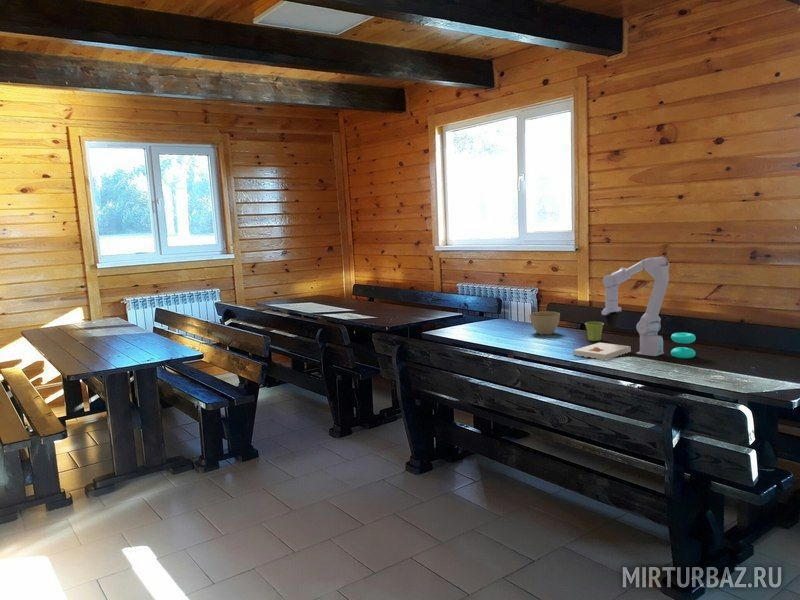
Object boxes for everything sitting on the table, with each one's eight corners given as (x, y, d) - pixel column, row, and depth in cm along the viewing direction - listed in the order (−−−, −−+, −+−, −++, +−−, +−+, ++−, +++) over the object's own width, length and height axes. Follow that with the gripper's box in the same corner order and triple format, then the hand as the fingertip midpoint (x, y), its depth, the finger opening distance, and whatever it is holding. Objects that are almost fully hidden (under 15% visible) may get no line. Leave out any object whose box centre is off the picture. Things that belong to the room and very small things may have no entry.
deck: (630, 351, 291) (630, 346, 291) (605, 360, 277) (605, 354, 277) (599, 347, 303) (599, 342, 303) (573, 355, 289) (573, 350, 289)
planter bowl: (531, 330, 356) (531, 311, 355) (561, 331, 351) (560, 311, 350) (528, 335, 341) (528, 315, 339) (559, 336, 336) (558, 316, 334)
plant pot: (583, 341, 320) (583, 324, 319) (586, 337, 328) (586, 321, 327) (602, 342, 316) (602, 325, 315) (605, 338, 324) (605, 322, 323)
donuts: (669, 335, 275) (672, 331, 284) (669, 357, 276) (672, 353, 285) (694, 336, 270) (697, 332, 279) (694, 359, 271) (696, 355, 280)
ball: (596, 356, 283) (600, 357, 286) (600, 348, 283) (603, 349, 286) (589, 353, 286) (592, 354, 289) (592, 345, 286) (595, 346, 289)
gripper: (611, 297, 308) (611, 325, 309) (595, 301, 298) (595, 329, 300) (625, 298, 303) (625, 326, 304) (609, 302, 293) (609, 330, 295)
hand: (611, 328), depth 302 cm, fingers closed
